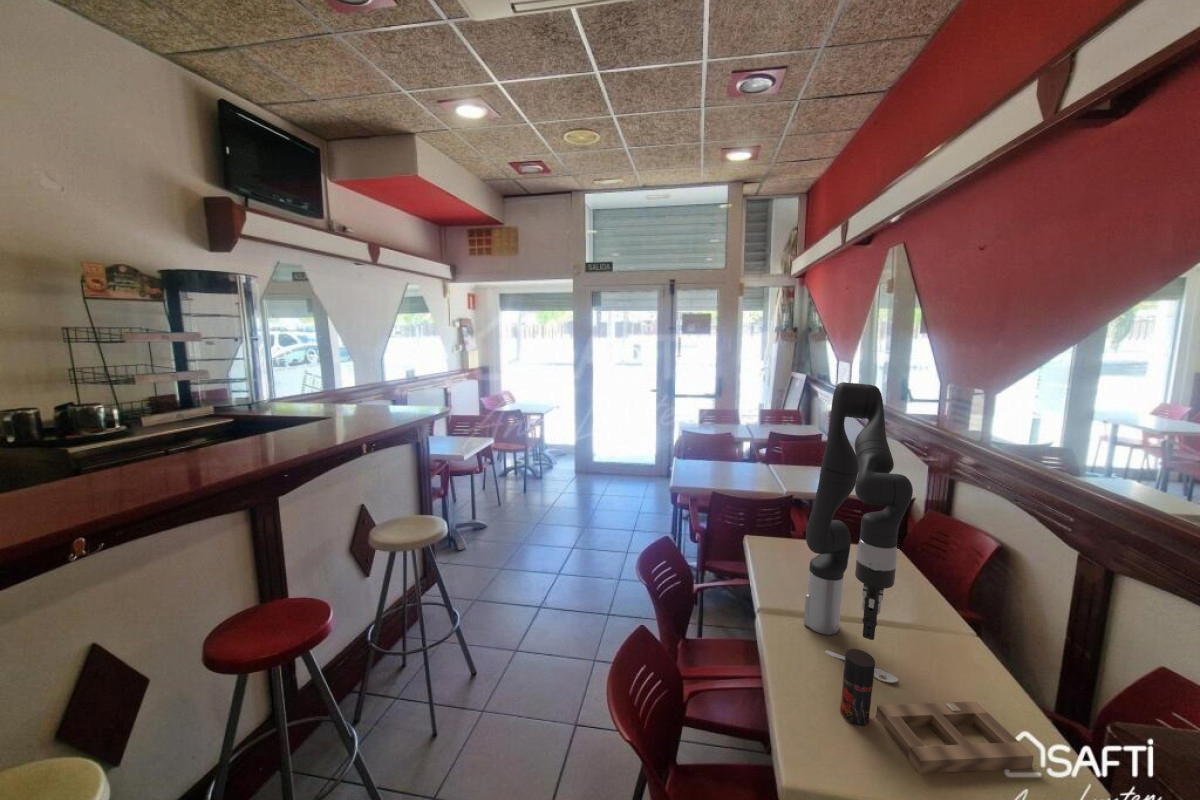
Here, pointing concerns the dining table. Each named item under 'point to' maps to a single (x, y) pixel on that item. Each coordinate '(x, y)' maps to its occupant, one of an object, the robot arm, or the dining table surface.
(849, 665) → the deodorant
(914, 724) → the wooden frame
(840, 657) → the spoon
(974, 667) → the dining table surface
